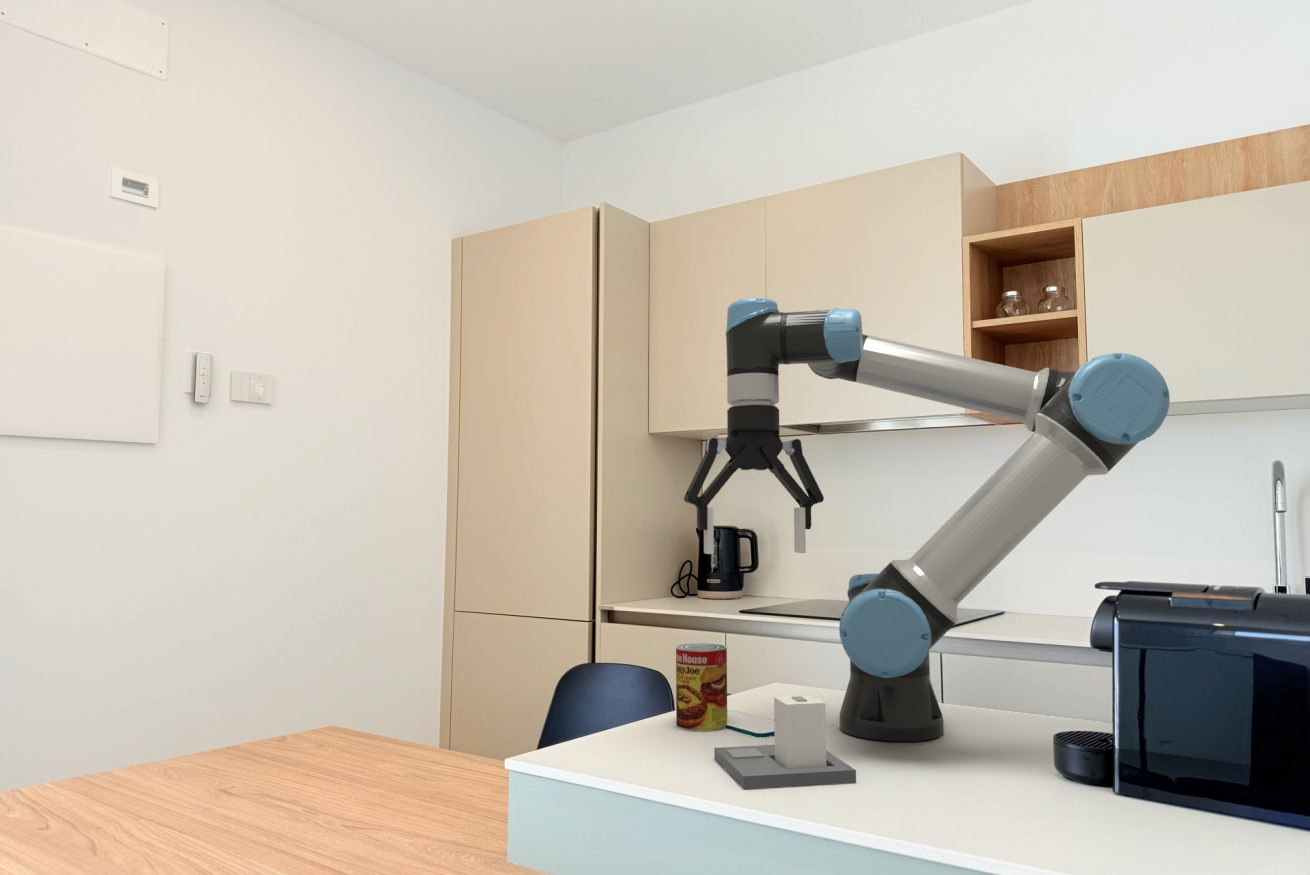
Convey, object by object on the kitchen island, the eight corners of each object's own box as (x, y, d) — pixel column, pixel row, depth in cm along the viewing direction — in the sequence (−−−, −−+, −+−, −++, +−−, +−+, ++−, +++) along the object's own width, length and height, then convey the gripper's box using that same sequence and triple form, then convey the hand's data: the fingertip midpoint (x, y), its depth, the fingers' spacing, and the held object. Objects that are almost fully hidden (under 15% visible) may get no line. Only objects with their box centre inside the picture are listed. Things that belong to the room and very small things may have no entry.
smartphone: (694, 722, 149) (759, 740, 136) (694, 716, 149) (759, 734, 136) (733, 716, 153) (800, 733, 140) (733, 710, 154) (800, 727, 140)
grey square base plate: (815, 754, 127) (814, 741, 127) (856, 782, 113) (855, 768, 113) (714, 759, 124) (714, 746, 124) (743, 789, 110) (743, 774, 110)
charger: (812, 767, 120) (811, 693, 121) (826, 777, 115) (825, 701, 116) (775, 769, 119) (774, 695, 120) (787, 779, 114) (786, 702, 115)
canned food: (666, 724, 145) (665, 645, 146) (705, 718, 150) (704, 641, 151) (698, 734, 139) (697, 651, 140) (738, 726, 143) (737, 647, 144)
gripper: (825, 410, 142) (827, 551, 141) (663, 407, 138) (664, 553, 136) (844, 404, 135) (847, 553, 133) (674, 401, 130) (675, 555, 129)
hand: (754, 553), depth 135 cm, fingers open, 13 cm apart
